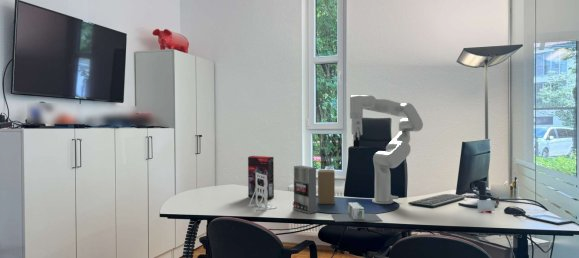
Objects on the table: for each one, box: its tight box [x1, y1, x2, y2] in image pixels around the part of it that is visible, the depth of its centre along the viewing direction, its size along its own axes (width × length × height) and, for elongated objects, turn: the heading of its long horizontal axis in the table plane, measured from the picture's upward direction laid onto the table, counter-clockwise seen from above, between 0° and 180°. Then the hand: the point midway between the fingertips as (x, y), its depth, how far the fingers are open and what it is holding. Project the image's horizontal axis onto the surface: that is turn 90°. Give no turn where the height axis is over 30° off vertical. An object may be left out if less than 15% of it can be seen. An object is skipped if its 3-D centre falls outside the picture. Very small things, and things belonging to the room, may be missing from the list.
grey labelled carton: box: [292, 165, 318, 215], centre depth 225 cm, size 14×6×25 cm, turn 37°
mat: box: [331, 213, 383, 223], centre depth 209 cm, size 24×14×1 cm, turn 92°
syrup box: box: [347, 202, 365, 219], centre depth 212 cm, size 6×6×14 cm
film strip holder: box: [247, 173, 278, 212], centre depth 234 cm, size 14×14×20 cm
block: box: [317, 169, 336, 205], centre depth 245 cm, size 10×10×20 cm
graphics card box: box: [247, 155, 275, 200], centre depth 262 cm, size 17×7×27 cm, turn 58°
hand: (356, 146), depth 237 cm, fingers closed
